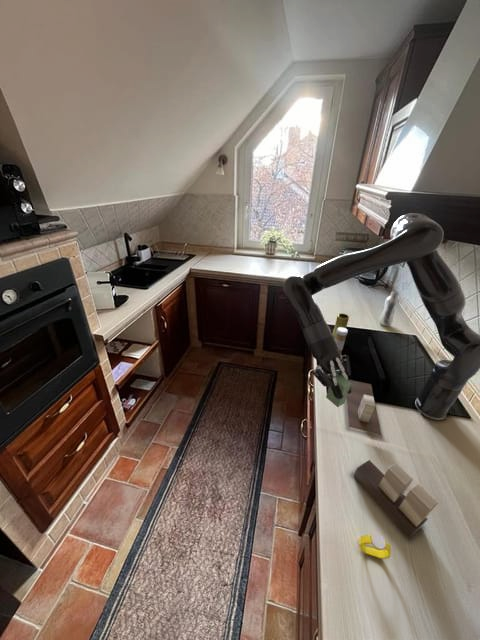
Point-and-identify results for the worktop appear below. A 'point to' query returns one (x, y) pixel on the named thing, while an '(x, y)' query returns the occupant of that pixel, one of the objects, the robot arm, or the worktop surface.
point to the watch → (377, 543)
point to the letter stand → (397, 496)
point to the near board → (355, 406)
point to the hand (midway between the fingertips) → (344, 395)
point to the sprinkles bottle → (340, 338)
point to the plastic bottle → (389, 309)
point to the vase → (340, 322)
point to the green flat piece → (344, 389)
